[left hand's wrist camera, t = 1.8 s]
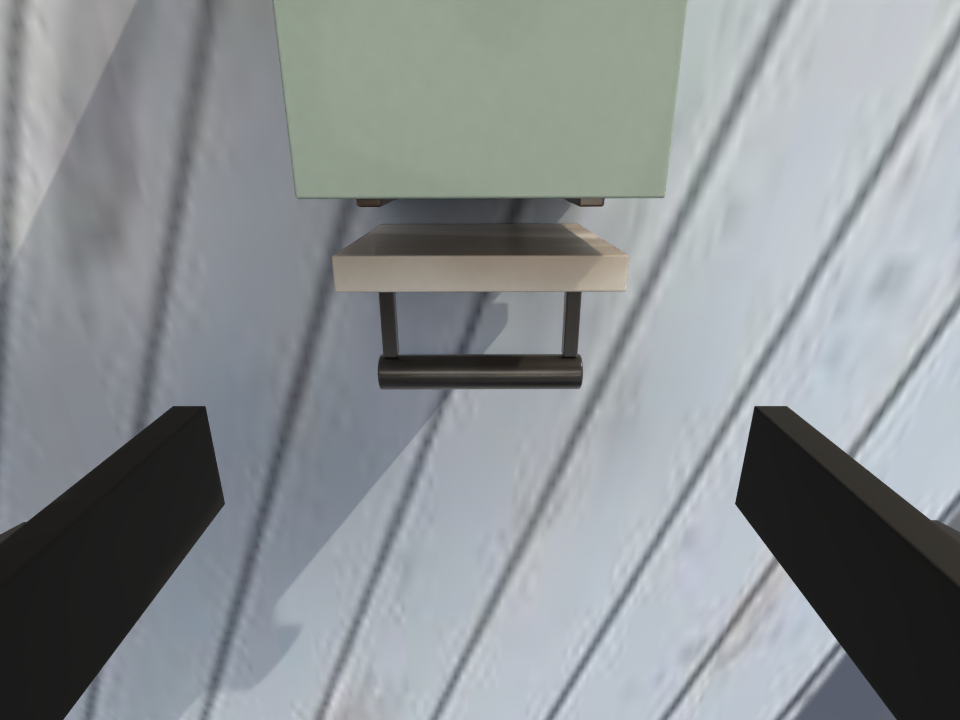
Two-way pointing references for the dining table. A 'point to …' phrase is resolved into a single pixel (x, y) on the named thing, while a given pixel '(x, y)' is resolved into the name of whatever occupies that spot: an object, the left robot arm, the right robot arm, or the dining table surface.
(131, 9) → the dining table surface
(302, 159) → the cabinet
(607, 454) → the dining table surface
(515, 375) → the drawer
